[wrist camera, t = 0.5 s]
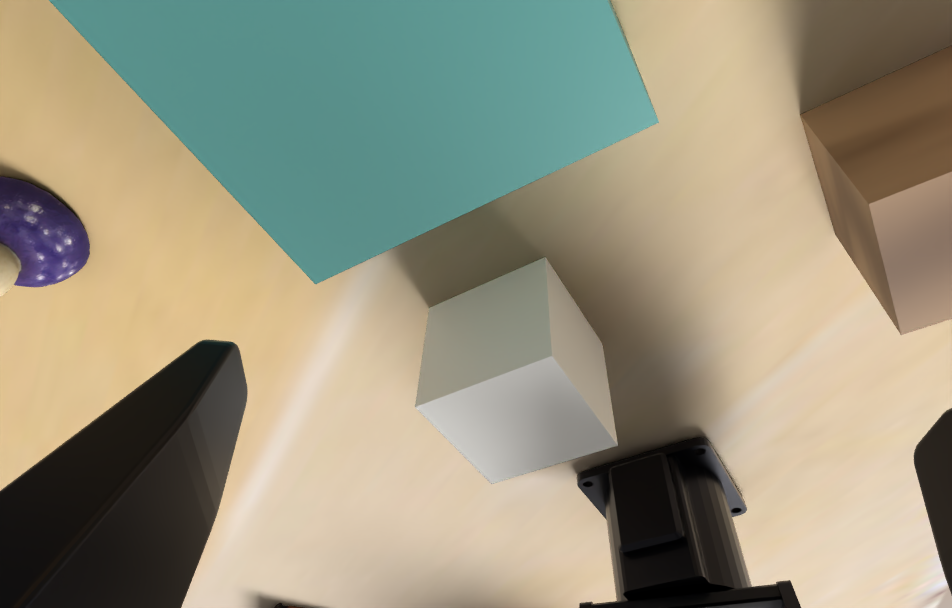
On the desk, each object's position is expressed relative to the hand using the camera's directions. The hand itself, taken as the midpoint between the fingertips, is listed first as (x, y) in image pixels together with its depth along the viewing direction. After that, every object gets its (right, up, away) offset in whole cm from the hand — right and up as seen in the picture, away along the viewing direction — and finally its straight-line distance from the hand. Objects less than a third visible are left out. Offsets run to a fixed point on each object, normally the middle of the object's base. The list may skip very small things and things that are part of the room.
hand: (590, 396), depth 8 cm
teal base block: (-4, +10, +9) cm, 14 cm away
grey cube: (0, 0, +17) cm, 17 cm away
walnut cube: (+12, +6, +12) cm, 18 cm away
